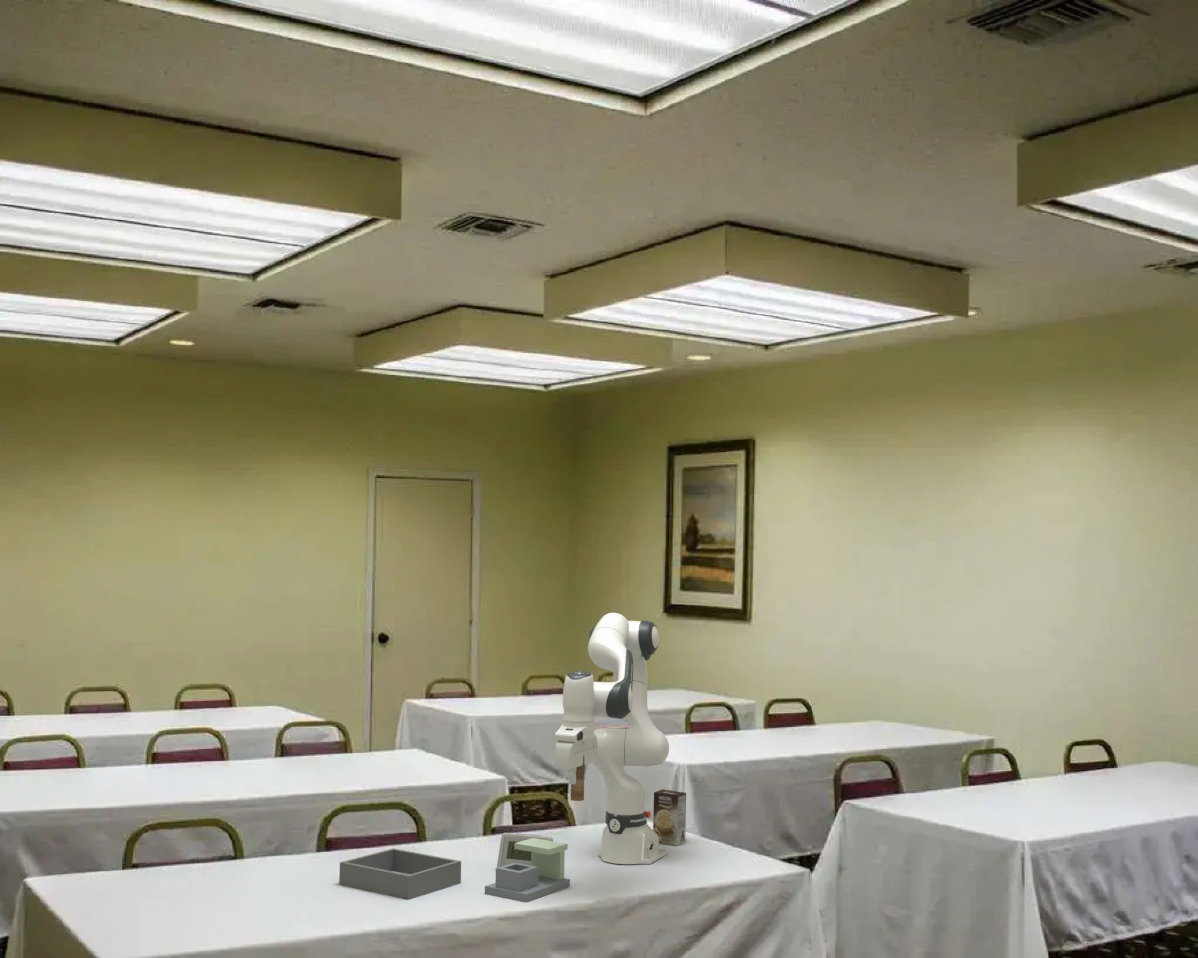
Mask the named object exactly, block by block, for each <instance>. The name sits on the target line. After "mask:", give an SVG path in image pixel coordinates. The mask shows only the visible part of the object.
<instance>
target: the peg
mask: <svg viewBox="0 0 1198 958" xmlns="http://www.w3.org/2000/svg"><path fill="white" fill-rule="evenodd" d="M584 756H585V755H584ZM584 756H583V764H582V766H580V767H577V768H576V777H578V780H577V783H576V784H570V801H574V802H581V801H584V800H585V781H584Z"/></svg>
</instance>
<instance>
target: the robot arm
mask: <svg viewBox="0 0 1198 958" xmlns="http://www.w3.org/2000/svg"><path fill="white" fill-rule="evenodd" d="M659 642H660V634H659V630H658V627H657V626H656V624H655V623H654V622H653V621H650V620H644V619H642V620H628V619H627V618H626V617H625V616H624V615H623V614H621V613H618V612H609V613H606V614H605V615H603V616H602V617H600V620H599V621H598V622H597V623H596V625H594V626H593V627H592V628H591V629H590V630H589V634H588V645H587V653H588V655H589V656H588V657H589V659H590V660H591V661H592V662H593V664H594V665H596V666H597V667H598V668H600V669H602V670H606V671H609V672H613V674H612V681H610V682H609V681H606V682H605V681H594V676H593V673H592V672H590V671H588V670H587V671H586V670H574V671H573V670H572V671H570V672H568V673H566V675H565V677H564V683H563V689H562V690H563V691H562V708H563V716H562V717H561V718H562V723H561V726H560V727H559V728H558V730H556V731H555V733H554V741H556V744H555V766H556V768H557V770H559V771H560V770H561V771H566V772H567V775H568V778H569V779H568V780H569V784H570V785H571V784H576V783H577V780H578V777H576V768H577V767H580V766H582V764H583V756H584V755H585V756H584V782H585V781H586V774H587V770H588V764H593V765H594V766H595V767H596V768H597V770H598V771H599V772H600V774H601V775H602V777H603V779H604V782H605V787H606V802H607V803H606V804H607V806H606V807H607V808H606V811H605V816H604V817H605V824H606V826H604V827H603V829H602V835H601V844H600V845H601V847H600V850H599V851H598V852H597V853H598V854H597V855H598V857H600V860H602V861H604V862H605V863H611V864H617V865H639V864H641V865H650V864H653V863H655V862H657V861H658V860H660V859H662V858H663V857H664V856H666V855H667V854H668V853H667V850H665V849H662V848H660V843H659V838H658V835H657V834H656V833H655V832H654V831H653V828H651V826H649V824H648V820H647V819H650V818H651V817H652V812H651V811H650V810H649V811H647V810H644V809H645V806H644V805H645V804H644V803H645V788H644V786H643V784H642V783H641V781H639V780H638V779H636V778H634V777H633V776H631V775H630V774H628V773H627V772H626V771H625V767H626V766H629V767H652V766H657V765H661V764H663V763H665V761H666V760H667V758H668V755H669V752H670V744H669V741H668V738H667V736H666V735H665V734H664V733H663V732H662V731H661V730H659V729H658V728H657V727H656V726H655V724H654V723H653V721H652V719H651V717H650V714H649V709H648V685H649V684H648V682H649V681H648V666H647V661H648V660H650V658H651V657H652V655H654V654H655V653H656V651H657V649H658V647H659V644H660V643H659ZM595 717H601V718H611V719H618V720H624V721H626V722H628V723H629V727H628V728H612V727H611V728H610V727H609V728H608V727H607V728H606V727H603V728H598V729H595Z"/></svg>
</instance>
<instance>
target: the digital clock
mask: <svg viewBox="0 0 1198 958" xmlns="http://www.w3.org/2000/svg"><path fill="white" fill-rule="evenodd" d="M531 838H536V839H542V840H548V841H554V838H553V837H552V836H545V835H544V836H543V835H538V834H527V833H512V832H503V833H502V834H501V838H500V843H499V850H498V857H497V862H496V864H497V865H496V868H498V867H501V866H505V865H508V864H511V863H514V862H515V863H520V864H525V865H531V852H530V851H524V850H518V849H514V848H515V843H517V842H521V841H524V840H528V839H531Z"/></svg>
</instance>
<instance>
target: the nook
mask: <svg viewBox="0 0 1198 958" xmlns="http://www.w3.org/2000/svg"><path fill="white" fill-rule="evenodd" d="M568 845H569V844H568V843H565V842H560V841H559V842H558V841H554V840H553V841H548V840H542V839H536V838H531V839H528V840H524V841H521V842H517V843H515V848H514V849H518V850H524V851H530V852H531V865H525V864H520V863H515V862H514V863H511V864H508V865H505V866H501V867H498V868H497V867H496V868H495V882H492V883H491V884H487V885H484V894H485V895H490V896H495V897H500V898H505V899H509V900H513V901H518V902H523V903H524V902H525V903H528V902H531V901H534V900H537V899H540V898H543V897H544V896H548V895H550V894H553V893H556V892H559V891H561V890H564V889H568V888H570V887H571V879H570V878H565V855H566V854H565V851H567V850H568Z"/></svg>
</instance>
